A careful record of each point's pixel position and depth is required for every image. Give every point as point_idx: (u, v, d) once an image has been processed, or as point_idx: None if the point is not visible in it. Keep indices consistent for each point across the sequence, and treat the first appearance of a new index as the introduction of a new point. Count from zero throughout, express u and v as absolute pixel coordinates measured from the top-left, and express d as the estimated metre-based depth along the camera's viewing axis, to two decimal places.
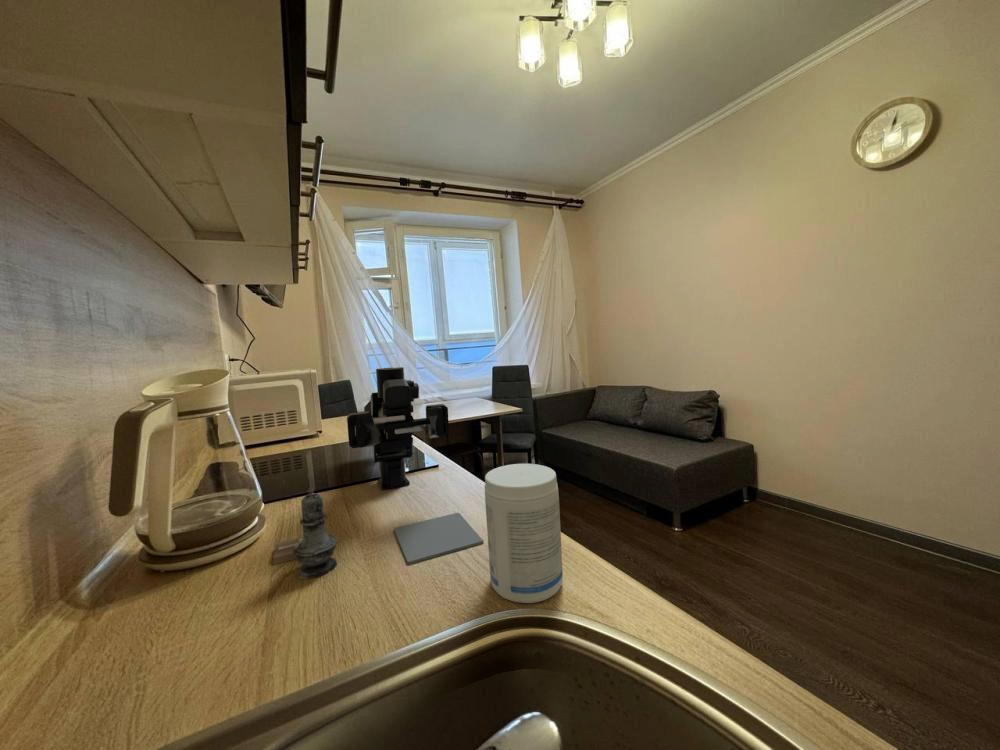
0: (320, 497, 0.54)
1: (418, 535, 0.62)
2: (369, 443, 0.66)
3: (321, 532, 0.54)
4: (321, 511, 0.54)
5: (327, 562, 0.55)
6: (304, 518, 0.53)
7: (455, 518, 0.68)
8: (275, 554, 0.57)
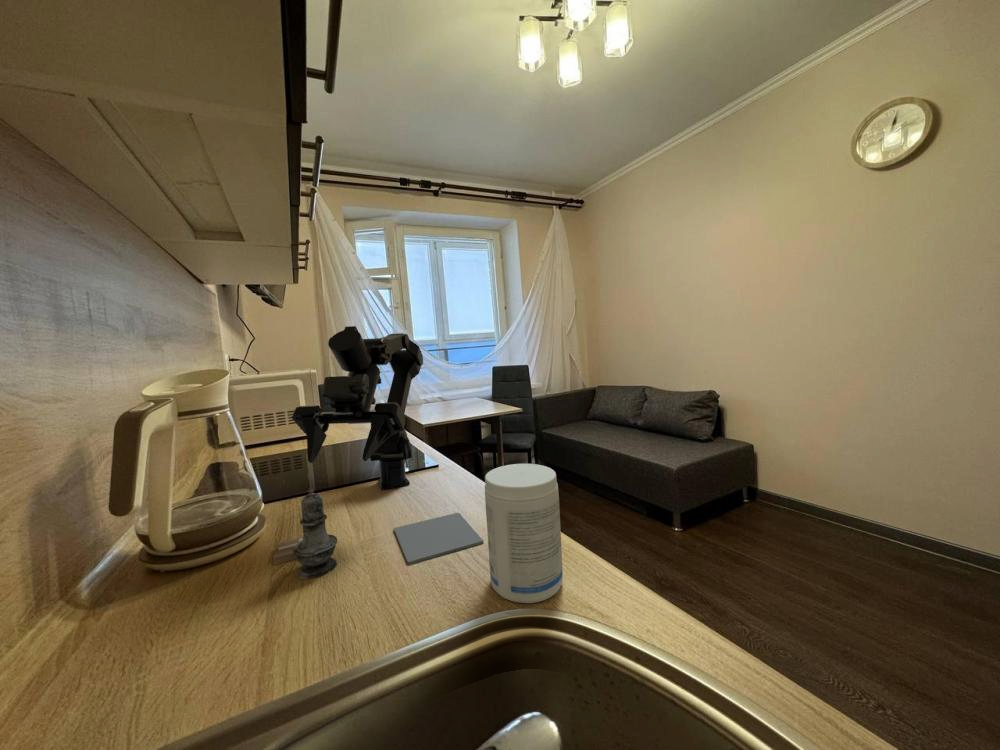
0: (320, 497, 0.54)
1: (418, 535, 0.62)
2: None
3: (321, 532, 0.54)
4: (321, 511, 0.54)
5: (327, 562, 0.55)
6: (304, 518, 0.53)
7: (455, 518, 0.68)
8: (275, 554, 0.57)
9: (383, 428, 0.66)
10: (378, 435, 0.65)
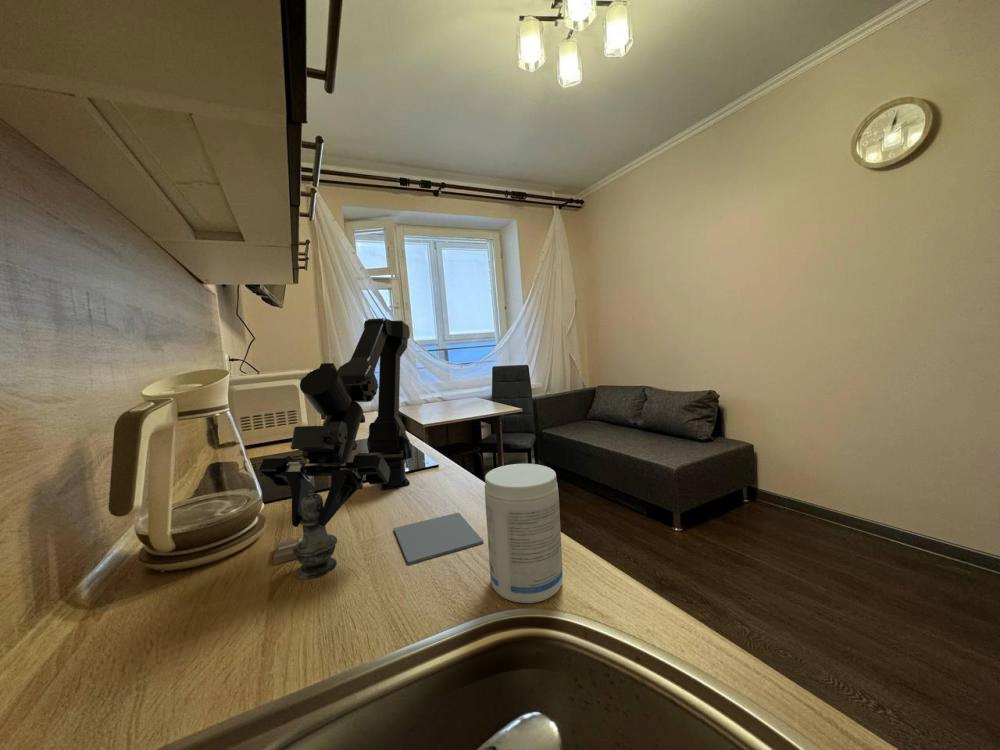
0: (320, 496, 0.54)
1: (418, 535, 0.62)
2: None
3: (321, 532, 0.54)
4: (321, 511, 0.54)
5: (327, 562, 0.55)
6: (304, 518, 0.53)
7: (455, 518, 0.68)
8: (275, 554, 0.57)
9: (347, 483, 0.57)
10: (340, 492, 0.56)
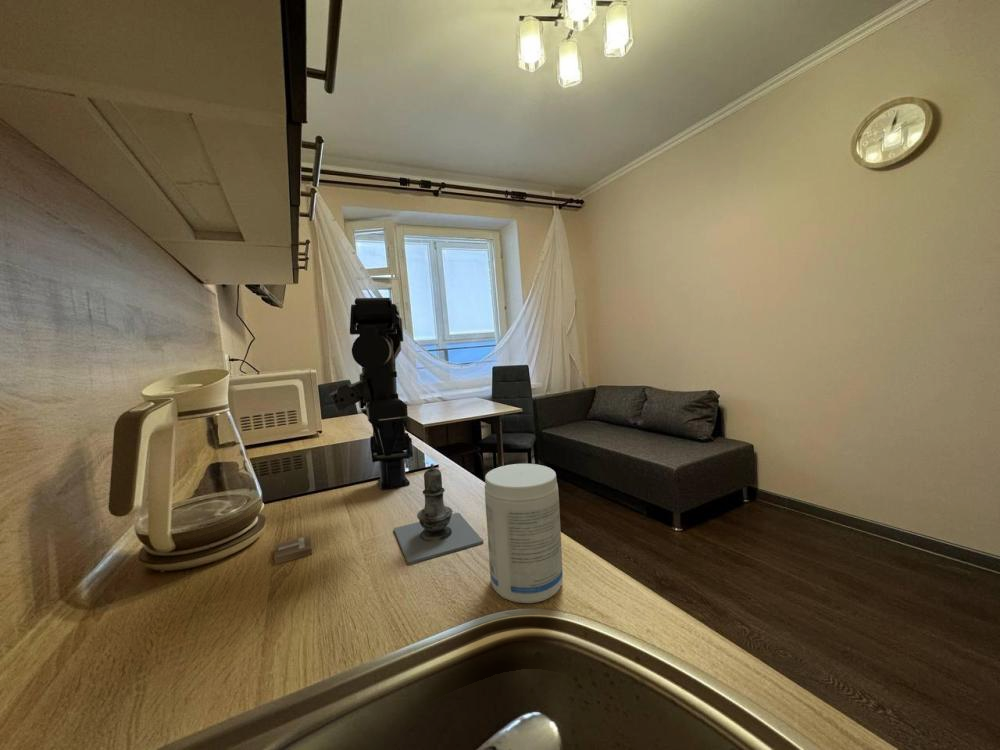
0: (438, 470, 0.63)
1: (418, 535, 0.62)
2: None
3: None
4: (441, 482, 0.63)
5: None
6: (432, 489, 0.61)
7: (455, 518, 0.68)
8: (276, 554, 0.57)
9: None
10: (389, 428, 0.65)
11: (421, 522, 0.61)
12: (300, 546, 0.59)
